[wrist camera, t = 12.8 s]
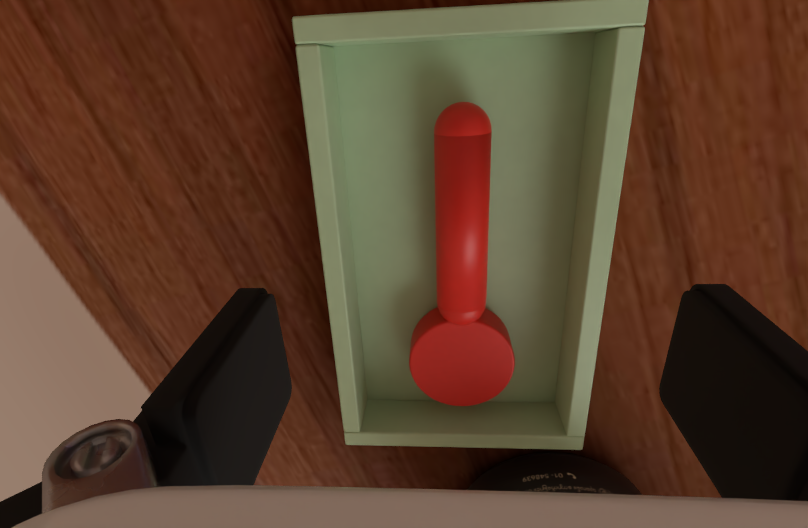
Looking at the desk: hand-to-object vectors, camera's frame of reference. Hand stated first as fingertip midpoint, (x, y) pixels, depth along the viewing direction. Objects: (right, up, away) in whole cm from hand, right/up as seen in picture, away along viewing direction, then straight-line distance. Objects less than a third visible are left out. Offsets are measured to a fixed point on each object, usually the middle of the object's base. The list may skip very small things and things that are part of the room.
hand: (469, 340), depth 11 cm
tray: (+1, +3, +7) cm, 7 cm away
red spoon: (+1, +2, +6) cm, 7 cm away
